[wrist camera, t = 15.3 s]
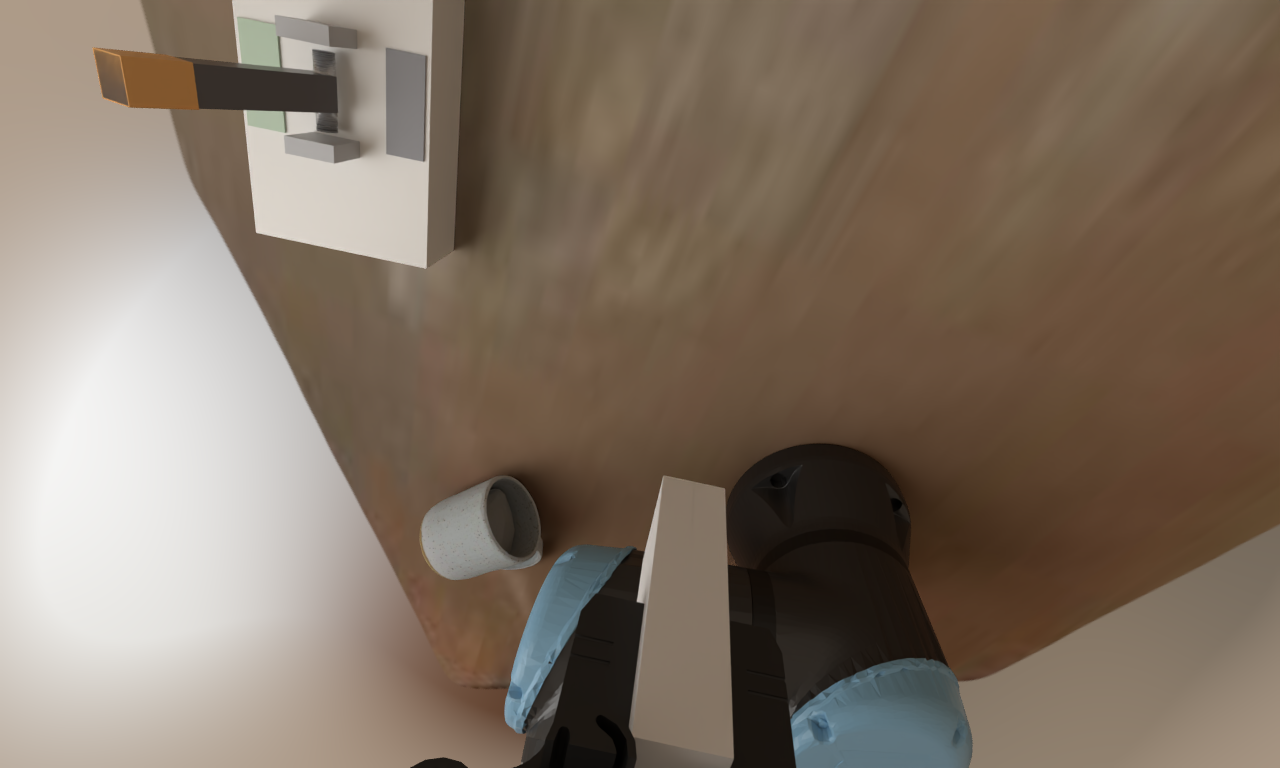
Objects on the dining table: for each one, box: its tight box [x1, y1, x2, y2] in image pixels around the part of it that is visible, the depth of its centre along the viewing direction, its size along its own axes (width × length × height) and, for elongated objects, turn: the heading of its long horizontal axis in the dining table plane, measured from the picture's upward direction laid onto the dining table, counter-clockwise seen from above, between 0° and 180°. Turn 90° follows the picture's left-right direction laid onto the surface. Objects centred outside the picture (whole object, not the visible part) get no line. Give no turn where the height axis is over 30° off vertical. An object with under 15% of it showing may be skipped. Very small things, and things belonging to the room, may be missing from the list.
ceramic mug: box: [420, 475, 543, 580], centre depth 54 cm, size 11×8×8 cm
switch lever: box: [93, 48, 338, 133], centre depth 32 cm, size 4×2×12 cm, turn 170°
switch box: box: [232, 0, 465, 269], centre depth 39 cm, size 20×12×8 cm, turn 169°
